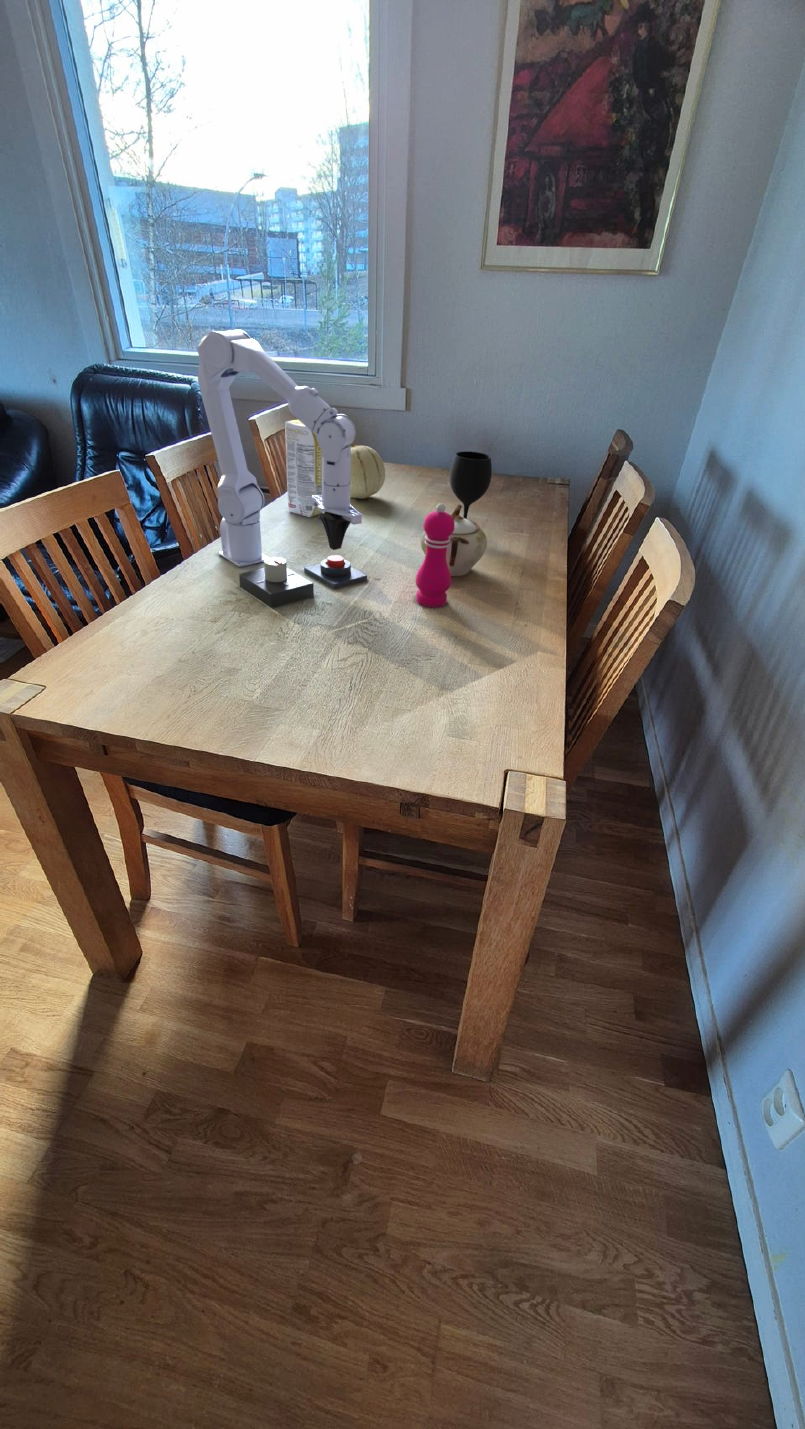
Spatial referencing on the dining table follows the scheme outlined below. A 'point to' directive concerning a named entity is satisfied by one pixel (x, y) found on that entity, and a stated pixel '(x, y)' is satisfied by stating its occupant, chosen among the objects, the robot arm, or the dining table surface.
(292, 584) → the panel
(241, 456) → the robot arm
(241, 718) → the dining table surface
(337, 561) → the power button
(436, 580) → the pepper mill
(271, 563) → the timer knob
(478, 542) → the sugar bowl
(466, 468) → the wine glass
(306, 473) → the juice carton
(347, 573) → the button block
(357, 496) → the cantaloupe
